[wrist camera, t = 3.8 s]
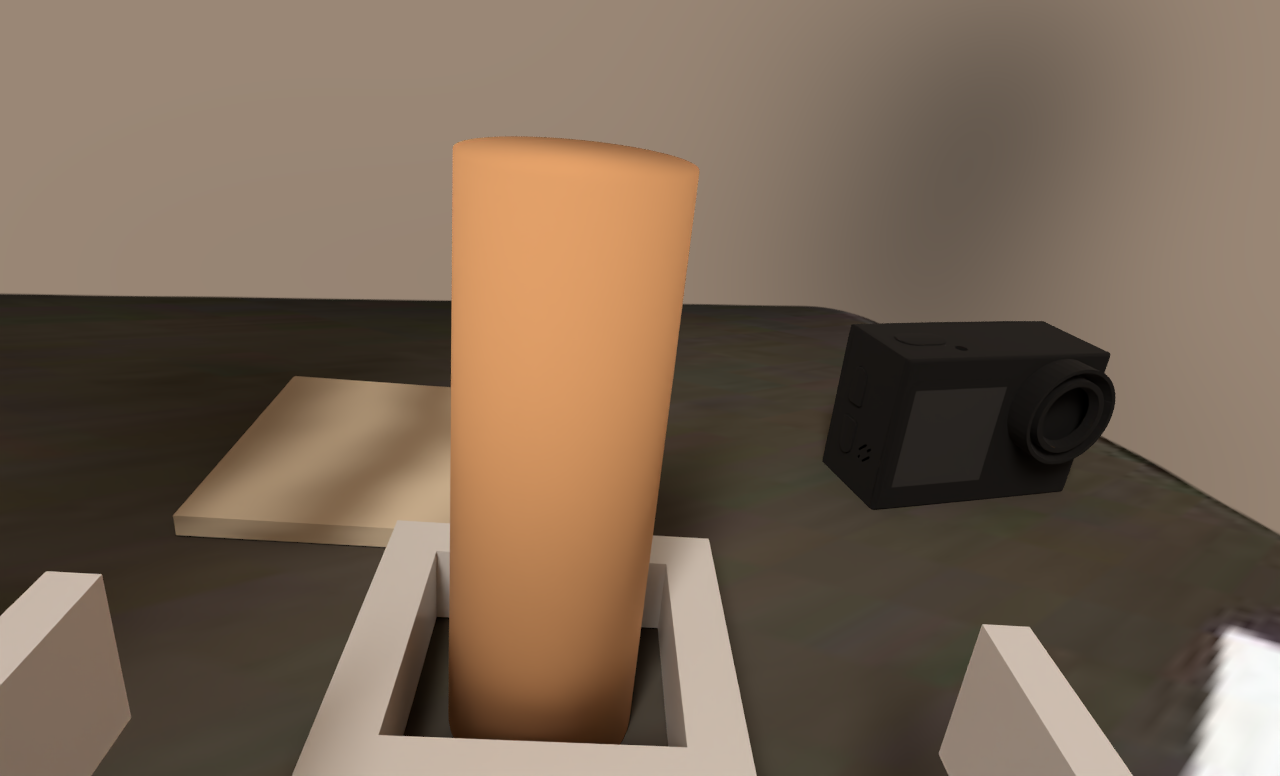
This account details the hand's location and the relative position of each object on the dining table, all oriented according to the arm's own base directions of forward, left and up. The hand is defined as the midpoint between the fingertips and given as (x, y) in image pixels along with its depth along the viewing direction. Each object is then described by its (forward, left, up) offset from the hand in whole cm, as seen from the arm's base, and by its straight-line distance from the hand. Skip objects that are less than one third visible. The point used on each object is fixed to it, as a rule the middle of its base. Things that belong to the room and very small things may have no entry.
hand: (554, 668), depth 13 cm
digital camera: (+17, +22, -9) cm, 29 cm away
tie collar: (0, +8, -8) cm, 11 cm away
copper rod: (0, +8, -9) cm, 11 cm away
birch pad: (-7, +21, -8) cm, 23 cm away
